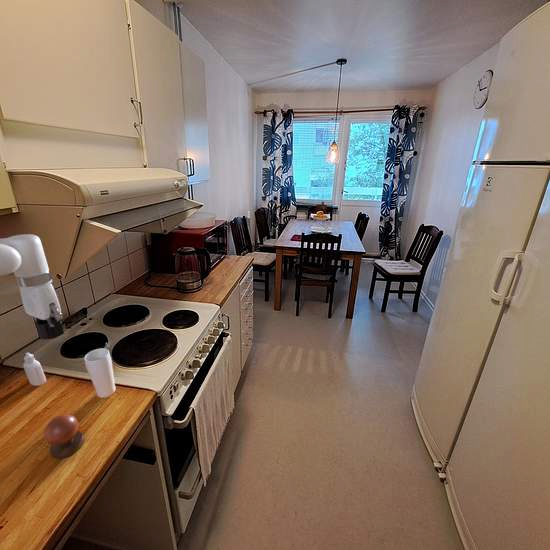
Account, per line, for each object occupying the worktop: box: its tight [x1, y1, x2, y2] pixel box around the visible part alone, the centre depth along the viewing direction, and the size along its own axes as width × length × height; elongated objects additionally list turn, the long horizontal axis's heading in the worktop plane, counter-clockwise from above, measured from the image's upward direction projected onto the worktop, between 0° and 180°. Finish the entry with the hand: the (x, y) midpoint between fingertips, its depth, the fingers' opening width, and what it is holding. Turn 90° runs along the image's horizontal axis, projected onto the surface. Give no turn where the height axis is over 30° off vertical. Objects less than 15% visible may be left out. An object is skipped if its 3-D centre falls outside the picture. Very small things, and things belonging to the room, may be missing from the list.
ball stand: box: [43, 413, 85, 460], centre depth 74 cm, size 7×7×10 cm
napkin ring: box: [35, 317, 55, 341], centre depth 86 cm, size 6×6×5 cm
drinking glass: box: [83, 347, 117, 399], centre depth 90 cm, size 7×7×15 cm
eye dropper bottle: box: [22, 352, 47, 387], centre depth 94 cm, size 4×6×12 cm
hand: (51, 332), depth 87 cm, fingers closed on napkin ring, 5 cm apart
